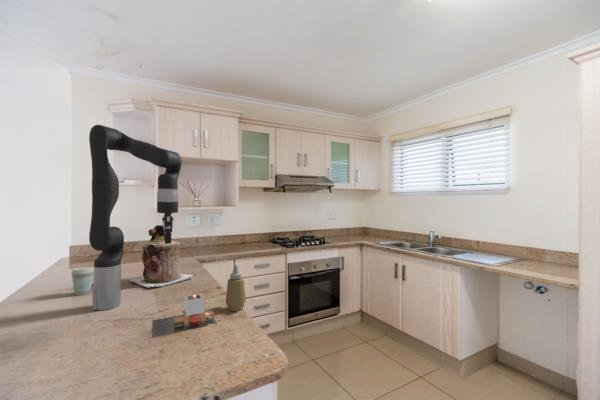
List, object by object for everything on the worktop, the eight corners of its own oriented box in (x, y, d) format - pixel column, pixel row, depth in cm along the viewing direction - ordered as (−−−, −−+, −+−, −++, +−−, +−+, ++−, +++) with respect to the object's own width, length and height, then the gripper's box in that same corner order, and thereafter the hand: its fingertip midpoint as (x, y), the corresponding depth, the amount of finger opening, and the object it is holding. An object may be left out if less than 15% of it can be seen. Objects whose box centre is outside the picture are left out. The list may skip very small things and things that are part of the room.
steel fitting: (185, 316, 92) (185, 301, 92) (184, 309, 97) (184, 296, 98) (204, 312, 95) (204, 298, 95) (201, 306, 100) (201, 293, 100)
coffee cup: (71, 297, 124) (71, 271, 124) (70, 293, 130) (71, 268, 130) (94, 293, 130) (94, 268, 130) (93, 289, 136) (93, 265, 136)
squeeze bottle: (249, 306, 114) (249, 263, 114) (239, 313, 106) (239, 267, 106) (232, 304, 116) (232, 262, 117) (221, 311, 109) (221, 266, 109)
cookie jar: (171, 272, 169) (171, 221, 169) (194, 279, 154) (194, 223, 155) (127, 282, 149) (128, 223, 149) (149, 290, 134) (150, 226, 135)
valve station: (152, 340, 86) (152, 310, 86) (152, 323, 98) (152, 296, 98) (217, 326, 95) (217, 299, 95) (210, 312, 107) (210, 288, 108)
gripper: (157, 200, 111) (156, 240, 111) (157, 200, 99) (156, 245, 99) (177, 200, 115) (176, 239, 115) (179, 200, 102) (179, 243, 102)
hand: (167, 241), depth 107 cm, fingers open, 8 cm apart
